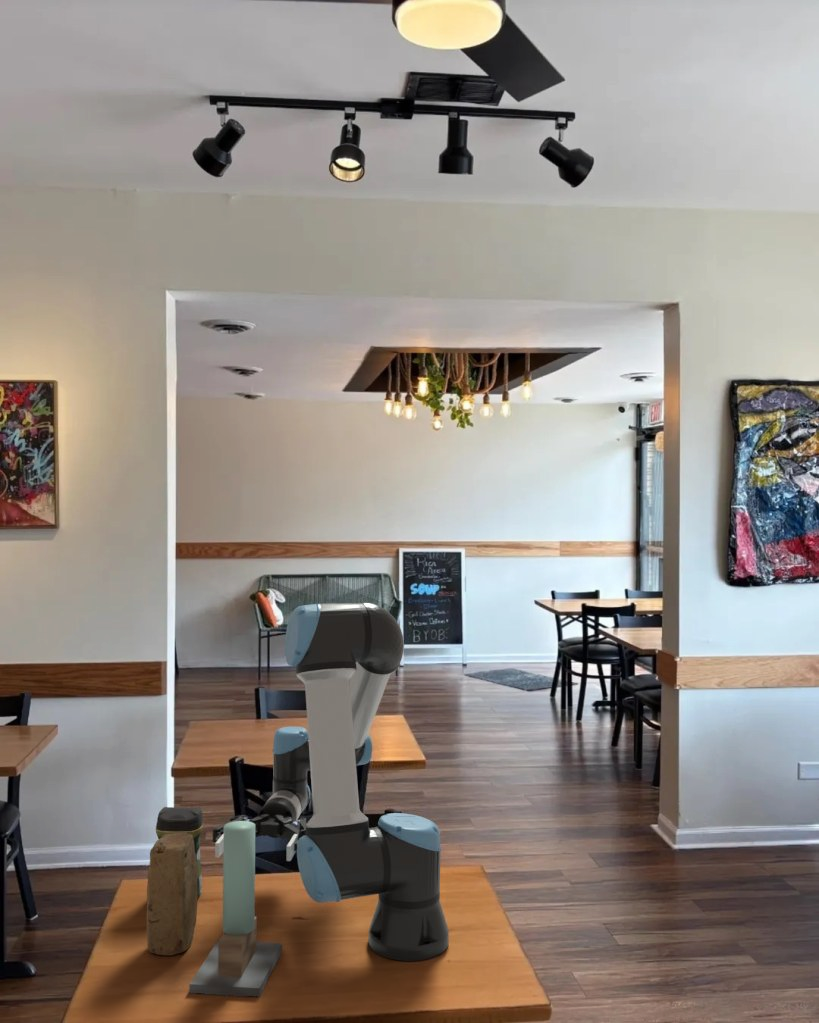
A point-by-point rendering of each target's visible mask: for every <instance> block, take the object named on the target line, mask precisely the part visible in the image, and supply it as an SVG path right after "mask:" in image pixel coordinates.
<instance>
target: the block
mask: <svg viewBox="0 0 819 1023" xmlns="http://www.w3.org/2000/svg"><path fill="white" fill-rule="evenodd" d="M197 911H198V897H197V863H196V855H195V850H194V839H193V836H192V835H191V834H185V833H174V834H165V835H163V836H162V837H161V838H160V839H157V840H156V842H154V844H153V846H152V848H151V849H150V852H149V867H148V870H147V888H146V939H147V940H146V941H147V949H148V951H149V953H152V954H156V955H159V956H174V955H178V954H181V953H184V952H185V951H186V950H188V949H189V948H190V946H191V944H192V942H193V940H194V934H195V928H196V924H197V914H198V912H197Z"/></svg>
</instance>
